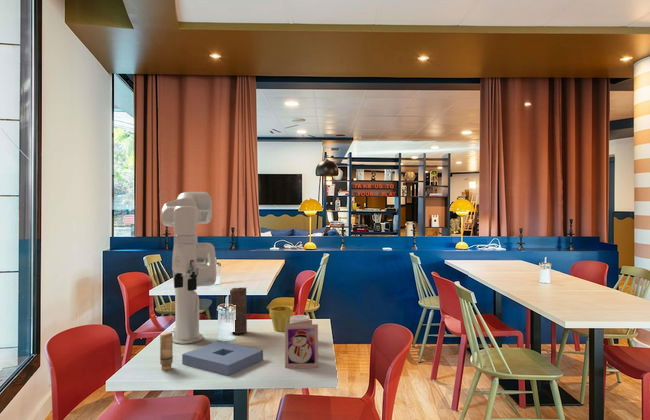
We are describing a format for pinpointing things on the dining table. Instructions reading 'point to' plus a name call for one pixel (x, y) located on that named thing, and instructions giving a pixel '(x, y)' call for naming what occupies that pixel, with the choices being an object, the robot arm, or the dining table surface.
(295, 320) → the white cup
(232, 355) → the board
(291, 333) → the greeting card
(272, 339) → the dining table surface
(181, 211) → the robot arm
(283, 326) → the plant pot
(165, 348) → the leg peg
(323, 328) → the dining table surface
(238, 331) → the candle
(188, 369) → the dining table surface
